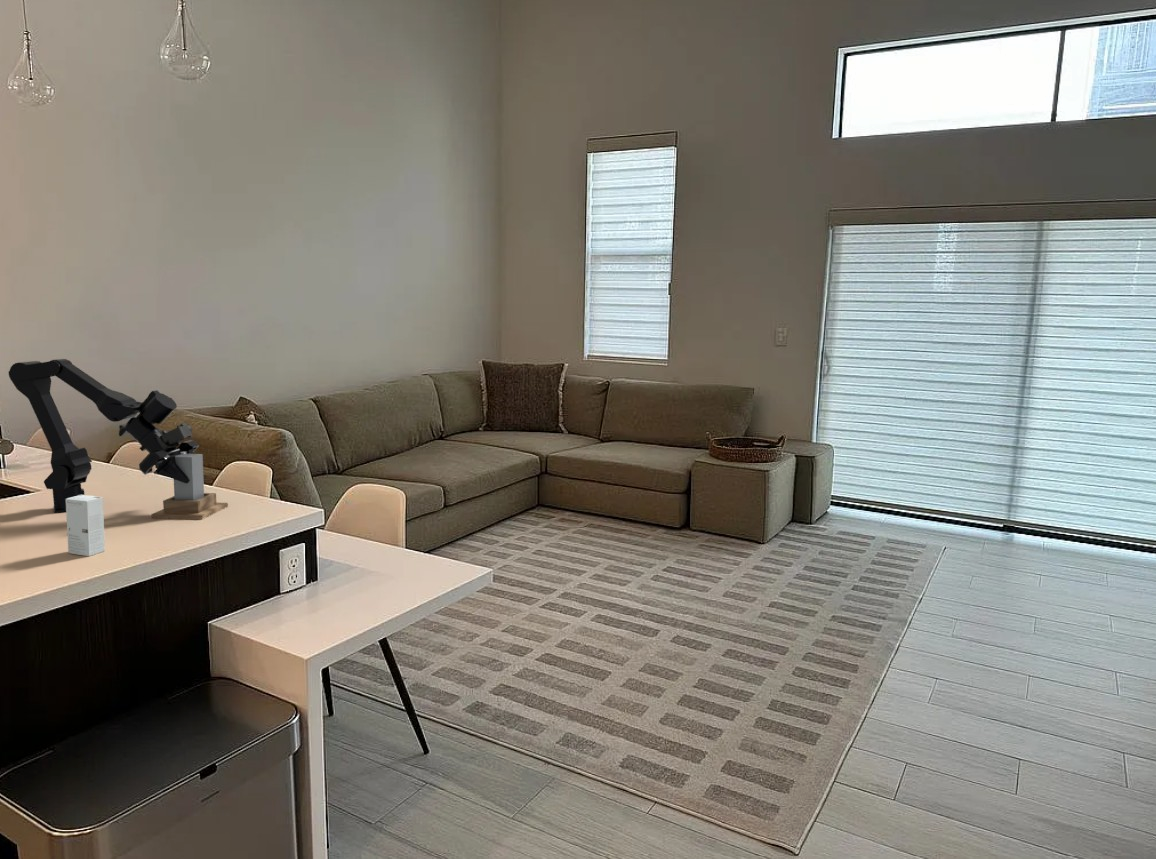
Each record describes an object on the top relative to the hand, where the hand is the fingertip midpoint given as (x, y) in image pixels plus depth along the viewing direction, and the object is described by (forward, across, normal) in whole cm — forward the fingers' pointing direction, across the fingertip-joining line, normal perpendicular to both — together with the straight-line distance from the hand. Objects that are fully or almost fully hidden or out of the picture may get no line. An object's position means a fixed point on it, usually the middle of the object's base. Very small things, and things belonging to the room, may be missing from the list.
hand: (193, 479), depth 206 cm
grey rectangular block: (+4, 0, +6) cm, 7 cm away
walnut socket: (+5, 0, +7) cm, 9 cm away
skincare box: (+3, -34, +10) cm, 36 cm away
